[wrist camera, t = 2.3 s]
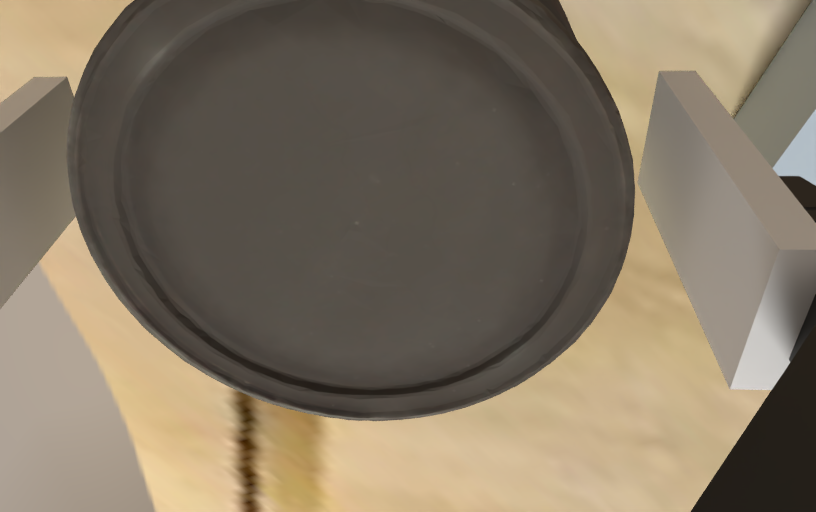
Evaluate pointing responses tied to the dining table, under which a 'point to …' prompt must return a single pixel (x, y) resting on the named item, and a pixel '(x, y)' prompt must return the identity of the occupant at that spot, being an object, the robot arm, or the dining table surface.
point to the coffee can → (353, 194)
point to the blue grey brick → (787, 104)
